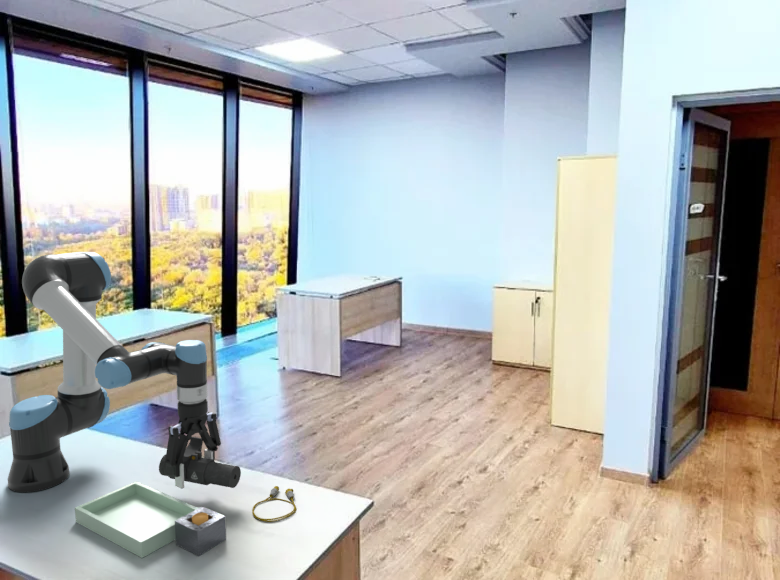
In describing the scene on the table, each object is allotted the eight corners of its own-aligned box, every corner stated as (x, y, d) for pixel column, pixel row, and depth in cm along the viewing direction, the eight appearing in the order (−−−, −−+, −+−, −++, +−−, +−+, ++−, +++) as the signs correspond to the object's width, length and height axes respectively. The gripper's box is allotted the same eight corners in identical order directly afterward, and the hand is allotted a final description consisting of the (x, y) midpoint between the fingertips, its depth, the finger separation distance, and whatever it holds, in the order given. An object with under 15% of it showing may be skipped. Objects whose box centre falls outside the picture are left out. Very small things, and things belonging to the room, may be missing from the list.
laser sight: (224, 496, 152) (225, 458, 150) (151, 481, 158) (150, 445, 157) (244, 480, 161) (245, 445, 160) (174, 467, 167) (174, 433, 166)
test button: (189, 537, 139) (188, 517, 138) (202, 530, 142) (201, 511, 141) (199, 542, 137) (198, 522, 136) (212, 535, 140) (211, 515, 139)
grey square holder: (175, 544, 138) (174, 521, 137) (203, 529, 145) (202, 506, 144) (198, 556, 134) (197, 531, 133) (226, 539, 141) (225, 516, 140)
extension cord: (313, 500, 160) (313, 493, 160) (277, 528, 147) (276, 520, 146) (277, 489, 166) (277, 483, 166) (239, 515, 152) (238, 508, 152)
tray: (75, 522, 148) (74, 507, 147) (137, 494, 162) (136, 481, 161) (142, 558, 133) (141, 542, 133) (203, 524, 147) (202, 509, 147)
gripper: (166, 414, 144) (169, 500, 148) (233, 391, 162) (235, 468, 166) (147, 408, 149) (150, 491, 152) (215, 386, 166) (217, 461, 170)
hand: (194, 479), depth 159 cm, fingers closed on laser sight, 9 cm apart
